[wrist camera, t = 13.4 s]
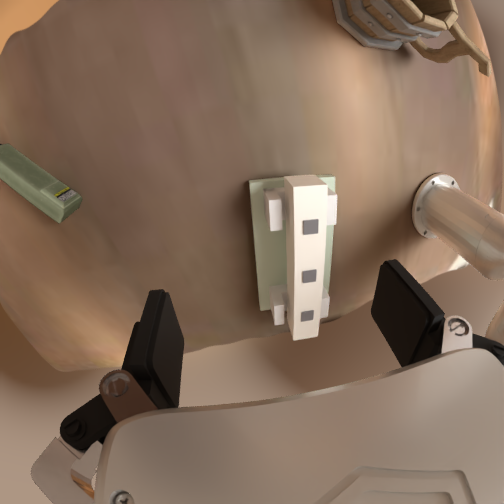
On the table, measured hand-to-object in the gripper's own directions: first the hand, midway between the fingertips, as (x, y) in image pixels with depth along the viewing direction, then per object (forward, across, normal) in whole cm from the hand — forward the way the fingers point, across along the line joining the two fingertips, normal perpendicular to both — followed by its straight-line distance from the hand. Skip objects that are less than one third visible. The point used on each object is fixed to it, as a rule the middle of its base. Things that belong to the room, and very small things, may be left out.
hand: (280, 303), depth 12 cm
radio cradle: (+28, -7, +13) cm, 32 cm away
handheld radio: (+29, +34, -7) cm, 45 cm away
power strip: (+25, -7, +13) cm, 29 cm away
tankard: (+29, -24, -22) cm, 43 cm away
